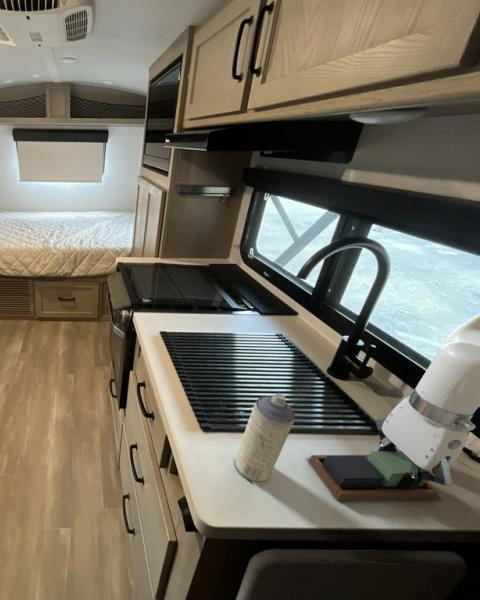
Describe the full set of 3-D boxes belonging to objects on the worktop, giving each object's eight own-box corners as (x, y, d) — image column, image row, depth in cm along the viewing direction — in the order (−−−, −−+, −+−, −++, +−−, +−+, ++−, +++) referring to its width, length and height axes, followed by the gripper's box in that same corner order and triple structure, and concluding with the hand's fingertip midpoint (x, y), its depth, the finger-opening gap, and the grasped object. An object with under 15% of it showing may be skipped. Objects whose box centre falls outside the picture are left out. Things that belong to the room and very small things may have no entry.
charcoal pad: (319, 468, 70) (326, 455, 68) (356, 468, 70) (363, 455, 69) (337, 491, 66) (344, 478, 64) (375, 491, 66) (384, 477, 64)
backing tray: (307, 463, 72) (311, 455, 71) (393, 462, 73) (399, 454, 72) (336, 502, 64) (341, 494, 63) (432, 501, 65) (439, 492, 64)
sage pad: (363, 464, 70) (371, 451, 68) (399, 463, 70) (408, 450, 68) (383, 486, 65) (392, 473, 64) (422, 486, 66) (432, 473, 64)
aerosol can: (275, 484, 67) (309, 411, 58) (241, 482, 67) (270, 408, 58) (260, 455, 73) (289, 384, 64) (229, 453, 73) (253, 382, 64)
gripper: (515, 446, 52) (453, 516, 60) (413, 376, 67) (375, 439, 76) (470, 447, 52) (414, 517, 60) (378, 376, 67) (343, 440, 75)
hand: (392, 473), depth 68 cm, fingers closed on sage pad, 4 cm apart
